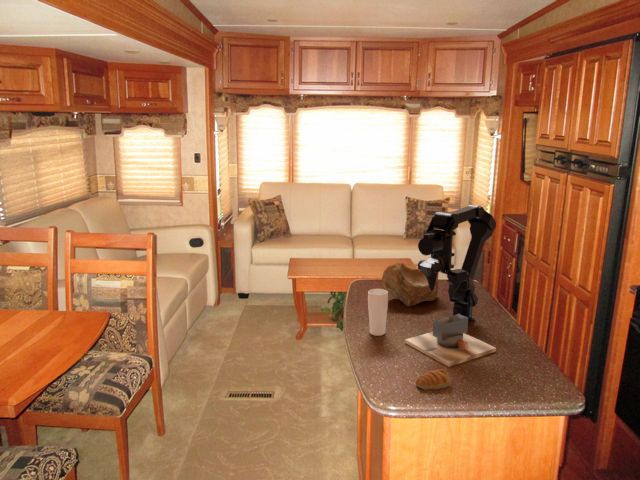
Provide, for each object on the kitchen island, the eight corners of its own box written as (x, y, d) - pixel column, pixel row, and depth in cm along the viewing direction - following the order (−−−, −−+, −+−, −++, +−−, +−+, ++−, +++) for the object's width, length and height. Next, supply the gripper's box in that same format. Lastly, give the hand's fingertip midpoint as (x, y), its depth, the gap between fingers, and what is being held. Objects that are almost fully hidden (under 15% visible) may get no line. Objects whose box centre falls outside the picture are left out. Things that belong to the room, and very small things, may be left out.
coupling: (428, 342, 169) (429, 318, 167) (453, 334, 175) (454, 312, 173) (452, 354, 160) (454, 330, 158) (478, 346, 165) (480, 322, 164)
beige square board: (450, 330, 182) (450, 326, 182) (495, 351, 166) (496, 347, 165) (405, 342, 172) (405, 338, 172) (448, 367, 156) (449, 362, 155)
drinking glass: (389, 330, 182) (390, 289, 179) (385, 338, 176) (385, 295, 173) (370, 328, 184) (370, 287, 181) (365, 336, 178) (365, 293, 175)
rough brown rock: (388, 312, 202) (391, 275, 197) (378, 294, 217) (381, 260, 213) (447, 310, 205) (451, 275, 200) (433, 293, 220) (437, 259, 216)
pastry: (425, 394, 141) (425, 381, 140) (410, 383, 147) (410, 371, 146) (453, 386, 145) (453, 374, 144) (437, 376, 151) (438, 364, 150)
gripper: (406, 247, 180) (405, 290, 183) (445, 259, 164) (443, 307, 168) (430, 243, 185) (429, 285, 189) (470, 254, 170) (468, 300, 173)
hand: (441, 294), depth 179 cm, fingers open, 9 cm apart
